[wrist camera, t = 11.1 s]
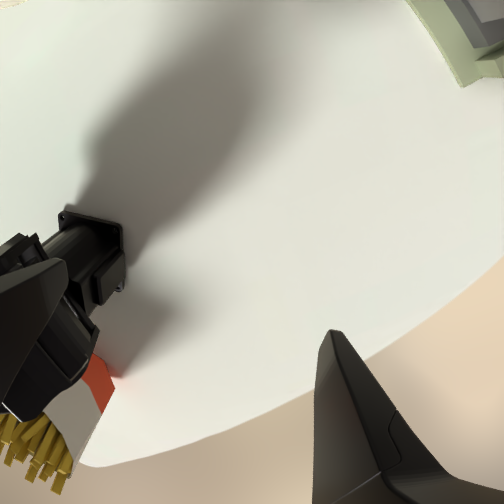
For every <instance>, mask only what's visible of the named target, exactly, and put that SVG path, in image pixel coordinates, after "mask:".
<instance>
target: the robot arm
mask: <svg viewBox="0 0 504 504" xmlns="http://www.w3.org/2000/svg"><path fill="white" fill-rule="evenodd" d="M63 216H64V218H63ZM58 222H59V231H58V232H57V233H55V234H54V235H53V236H51V237H50V238H49V239H47V240H46V241H45V242H44V243H42V244H41V243H40V241H39V237H38V235H37V233H34V234H33V235H32V236H30V237H28V235H27V236H24V235H22V234H20V233H18V234H17V235H15V236H14V237H12V238H11V239H10V240H8V241H7V242H6V243H4V244H3V245H1V246H0V415H1V414H11V413H12V414H13V415H14V416H15V417H16V418H17V419H18V420H19V421H20V422H22V423H24V422H27V421H30V420H33V419H36V418H37V417H38V416H39V414H40V413H41V412H42V411H43V410H44V408H45V407H46V406H47V405H48V404H49V403H50V402H51V401H52V400H53V399H54V398H55V397H56V396H57V395H58V394H60V393H61V392H62V391H64V390H67V389H68V388H70V387H71V386H73V385H74V384H75V383H76V382H77V381H78V380H79V379H80V378H81V377H82V376H83V374H84V373H85V371H86V370H87V367H88V365H89V362H90V359H91V356H92V353H93V350H94V347H95V344H96V341H97V338H98V335H99V332H100V330H99V329H98V327H97V326H96V325H94V324H93V323H92V321H91V320H90V319H89V316H90V314H91V313H92V312H93V310H94V309H95V308H96V306H97V305H100V306H102V305H103V304H104V303H105V302H106V301H107V300H108V298H109V297H110V296H111V294H112V293H113V292H114V291H117V292H121V291H122V290H123V289H124V278H125V259H124V251H123V241H122V227H121V226H120V225H119V224H118V223H114V222H110V221H105V220H101V219H97V218H93V217H89V216H84V215H80V214H76V213H72V212H68V211H62V212H60V213H59V214H58ZM114 228H115V229H116V230H117V232H116V231H115V229H114ZM118 286H119V287H118ZM313 464H314V465H313V493H312V504H504V491H501V490H497V489H493V488H489V487H485V486H482V485H478V484H474V483H471V482H468V481H464V480H461V479H458V478H456V477H454V476H452V475H451V474H449V473H448V472H447V471H446V470H445V469H444V468H443V467H442V466H441V465H440V464H439V462H438V461H437V460H436V459H435V458H434V456H433V455H432V454H431V453H430V452H429V450H428V449H427V448H426V447H425V446H424V445H423V443H422V442H421V441H420V440H419V438H418V437H417V436H416V435H415V434H414V432H413V431H412V430H411V428H410V427H409V425H408V424H407V423H406V421H405V420H404V419H403V417H402V416H401V414H400V413H399V411H398V410H396V407H395V406H394V404H393V403H392V401H391V400H390V398H389V397H388V396H387V394H386V393H385V391H384V390H383V388H382V387H381V386H380V384H379V383H378V381H377V380H376V378H375V377H374V376H373V374H372V373H371V371H370V370H369V369H368V367H367V366H366V364H365V363H364V362H363V360H362V359H361V357H360V356H359V355H358V353H357V352H356V350H355V349H354V348H353V346H352V345H351V343H350V342H349V341H348V339H347V338H346V336H345V335H344V334H343V332H341V331H338V330H332V329H330V330H329V331H328V332H327V334H326V336H325V338H324V340H323V342H322V344H321V346H320V348H319V352H318V362H317V372H316V381H315V390H314V463H313Z"/></svg>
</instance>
